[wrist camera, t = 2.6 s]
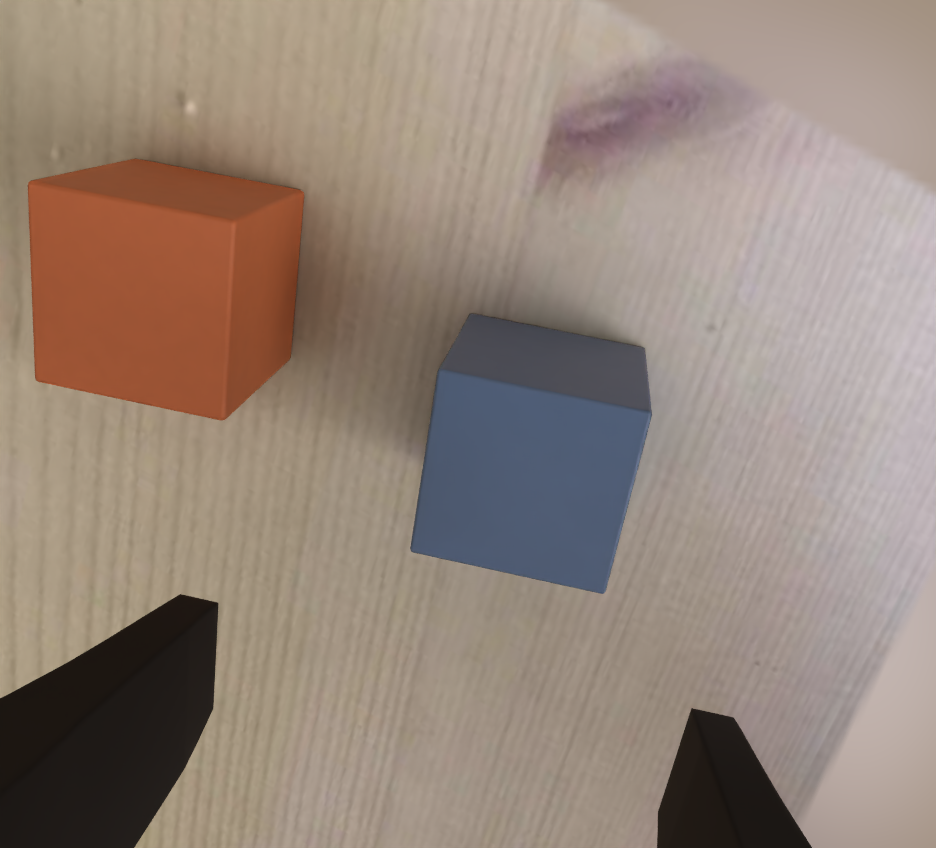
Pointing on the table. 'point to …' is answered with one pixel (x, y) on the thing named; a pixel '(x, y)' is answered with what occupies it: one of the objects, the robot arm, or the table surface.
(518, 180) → the table surface
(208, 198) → the terracotta block
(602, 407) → the blue block
